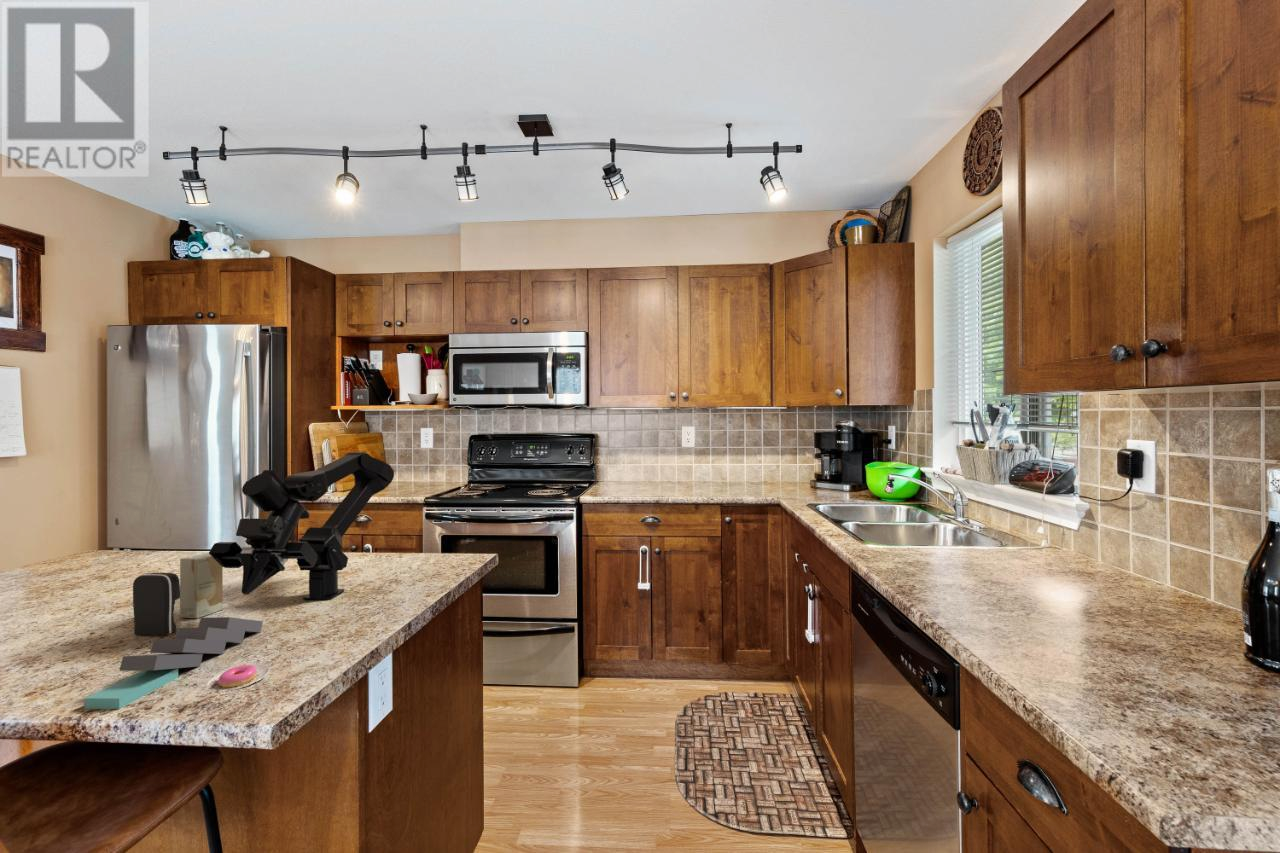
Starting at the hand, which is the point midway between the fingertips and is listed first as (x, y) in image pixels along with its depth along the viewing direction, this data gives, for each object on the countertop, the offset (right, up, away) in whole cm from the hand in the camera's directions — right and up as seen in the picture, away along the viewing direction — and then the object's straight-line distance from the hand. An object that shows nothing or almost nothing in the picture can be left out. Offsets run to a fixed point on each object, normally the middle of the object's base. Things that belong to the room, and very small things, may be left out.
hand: (244, 593), depth 110 cm
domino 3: (0, -7, -9) cm, 11 cm away
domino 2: (0, -7, -14) cm, 16 cm away
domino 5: (0, -7, +1) cm, 7 cm away
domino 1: (0, -7, -19) cm, 20 cm away
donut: (+12, -8, -18) cm, 24 cm away
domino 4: (0, -7, -4) cm, 8 cm away
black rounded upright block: (-17, -8, +1) cm, 19 cm away
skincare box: (-17, -8, +12) cm, 22 cm away
